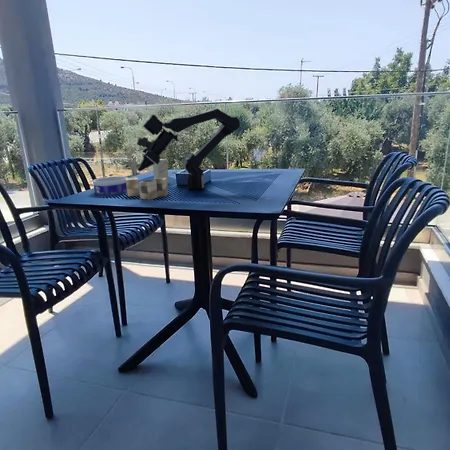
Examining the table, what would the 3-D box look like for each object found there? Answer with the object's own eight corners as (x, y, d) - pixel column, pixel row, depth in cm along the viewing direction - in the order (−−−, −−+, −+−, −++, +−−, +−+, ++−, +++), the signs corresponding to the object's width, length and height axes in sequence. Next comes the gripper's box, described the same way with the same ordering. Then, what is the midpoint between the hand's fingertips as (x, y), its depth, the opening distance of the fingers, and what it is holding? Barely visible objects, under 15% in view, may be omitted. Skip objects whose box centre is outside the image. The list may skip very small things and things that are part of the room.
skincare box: (160, 185, 174) (157, 160, 171) (154, 184, 177) (151, 160, 173) (169, 183, 179) (167, 158, 175) (163, 182, 182) (161, 158, 178)
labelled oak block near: (157, 196, 150) (156, 179, 148) (150, 199, 145) (148, 182, 143) (148, 196, 152) (146, 179, 150) (140, 198, 148) (138, 181, 145)
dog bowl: (87, 194, 161) (85, 181, 160) (108, 188, 175) (107, 175, 173) (115, 195, 156) (113, 182, 154) (135, 188, 170) (133, 176, 168)
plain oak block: (139, 193, 159) (137, 177, 157) (139, 195, 155) (137, 179, 153) (127, 194, 158) (125, 178, 156) (127, 196, 153) (125, 180, 151)
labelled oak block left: (168, 193, 155) (166, 177, 153) (165, 196, 150) (163, 179, 148) (156, 194, 155) (155, 177, 153) (153, 196, 150) (151, 179, 148)
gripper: (144, 129, 159) (122, 156, 160) (148, 130, 142) (123, 160, 142) (164, 145, 163) (142, 172, 164) (170, 149, 146) (146, 178, 147)
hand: (138, 170), depth 154 cm, fingers closed
